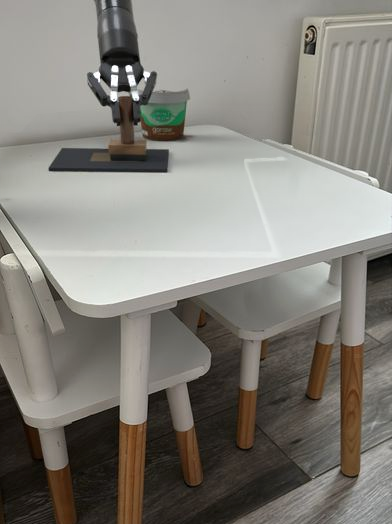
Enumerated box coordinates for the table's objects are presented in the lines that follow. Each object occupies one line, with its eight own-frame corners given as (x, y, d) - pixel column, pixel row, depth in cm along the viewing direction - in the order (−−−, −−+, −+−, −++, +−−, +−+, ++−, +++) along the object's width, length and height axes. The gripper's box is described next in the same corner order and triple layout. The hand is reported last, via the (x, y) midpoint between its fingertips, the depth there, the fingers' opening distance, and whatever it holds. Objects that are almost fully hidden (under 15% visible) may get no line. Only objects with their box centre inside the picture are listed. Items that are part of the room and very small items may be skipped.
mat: (48, 171, 103) (48, 167, 103) (62, 150, 115) (61, 147, 115) (167, 172, 104) (167, 168, 104) (168, 152, 116) (168, 149, 115)
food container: (140, 143, 121) (138, 93, 115) (135, 136, 126) (133, 88, 120) (195, 141, 123) (196, 92, 118) (189, 134, 128) (189, 87, 123)
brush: (109, 161, 107) (104, 99, 101) (111, 154, 111) (107, 94, 105) (145, 161, 107) (143, 99, 101) (146, 155, 111) (144, 95, 105)
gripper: (152, 55, 111) (162, 133, 108) (82, 55, 109) (90, 136, 106) (155, 26, 104) (166, 110, 101) (79, 26, 102) (88, 112, 99)
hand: (127, 123), depth 103 cm, fingers closed on brush, 2 cm apart
